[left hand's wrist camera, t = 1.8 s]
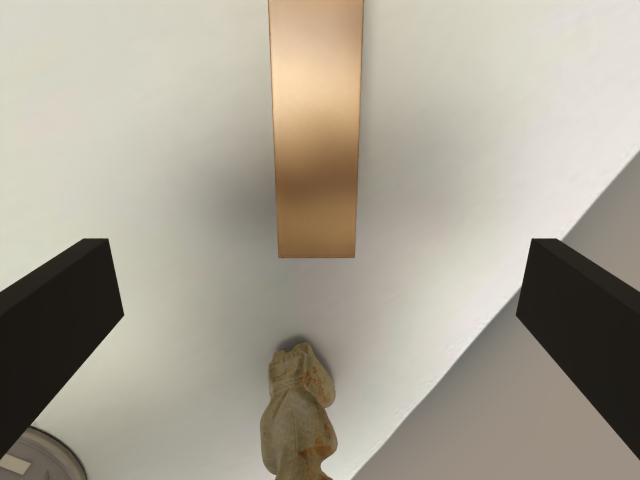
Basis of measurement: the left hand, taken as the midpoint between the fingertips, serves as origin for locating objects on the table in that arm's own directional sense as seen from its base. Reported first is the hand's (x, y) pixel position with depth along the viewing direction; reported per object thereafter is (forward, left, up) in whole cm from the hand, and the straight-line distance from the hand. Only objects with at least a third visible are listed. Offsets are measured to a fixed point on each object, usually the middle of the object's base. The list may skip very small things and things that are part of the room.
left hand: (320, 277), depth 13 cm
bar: (+7, +4, -20) cm, 21 cm away
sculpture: (-17, -8, -20) cm, 27 cm away
